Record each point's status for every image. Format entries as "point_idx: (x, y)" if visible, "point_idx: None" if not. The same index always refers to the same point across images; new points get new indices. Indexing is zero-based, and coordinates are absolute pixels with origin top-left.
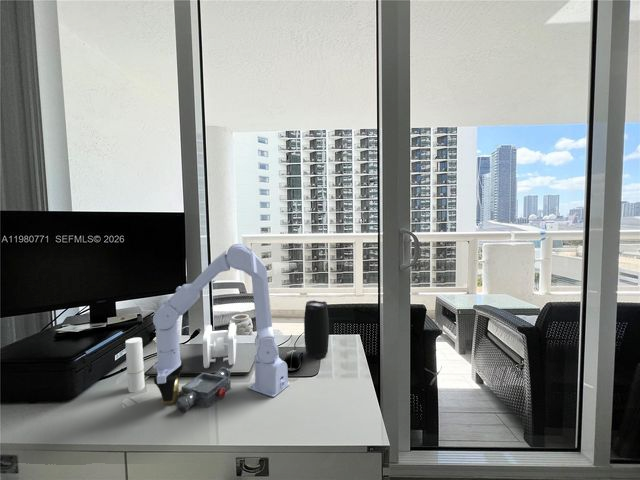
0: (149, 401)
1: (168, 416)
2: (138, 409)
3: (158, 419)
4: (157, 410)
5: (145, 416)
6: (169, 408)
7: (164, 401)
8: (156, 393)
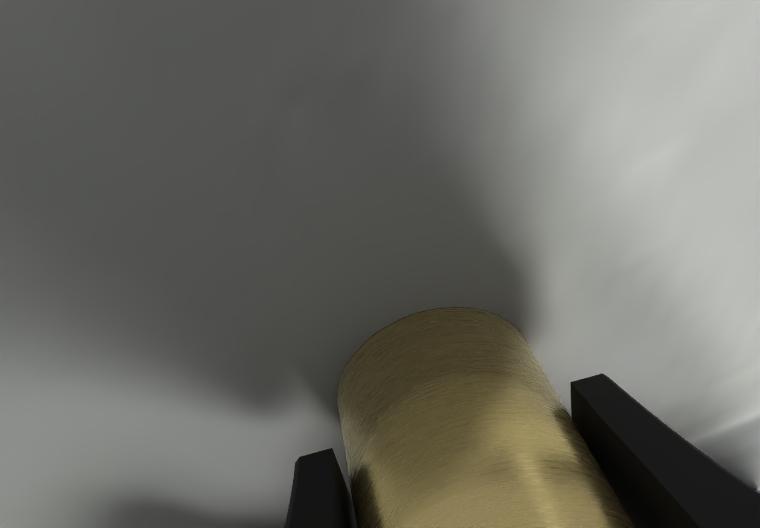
0: (436, 110)
1: (121, 520)
2: (181, 61)
3: (33, 468)
4: (210, 359)
5: (34, 295)
6: (273, 453)
7: (351, 405)
8: (676, 84)
